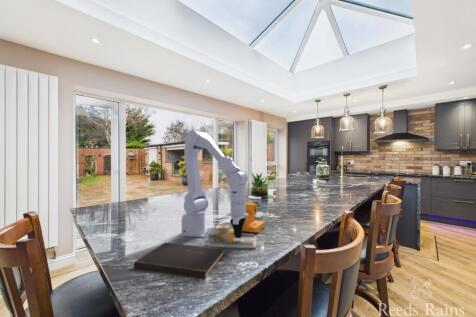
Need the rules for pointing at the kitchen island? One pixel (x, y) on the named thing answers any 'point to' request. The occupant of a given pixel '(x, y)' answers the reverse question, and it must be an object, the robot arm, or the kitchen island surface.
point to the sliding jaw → (231, 236)
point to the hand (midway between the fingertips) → (238, 237)
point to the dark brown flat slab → (180, 260)
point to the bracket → (252, 219)
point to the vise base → (242, 242)
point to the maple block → (221, 232)
